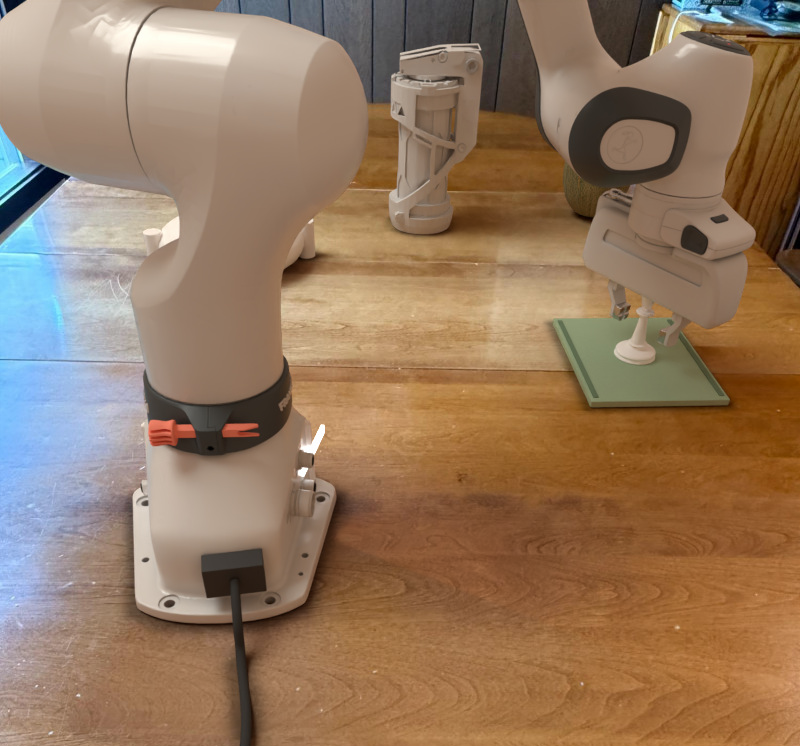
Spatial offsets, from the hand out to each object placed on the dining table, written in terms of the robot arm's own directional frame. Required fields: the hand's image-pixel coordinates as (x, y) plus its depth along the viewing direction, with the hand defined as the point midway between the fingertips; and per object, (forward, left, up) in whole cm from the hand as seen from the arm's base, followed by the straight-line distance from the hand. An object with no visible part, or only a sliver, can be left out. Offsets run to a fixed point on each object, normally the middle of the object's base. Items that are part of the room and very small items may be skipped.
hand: (641, 330), depth 92 cm
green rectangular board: (0, 0, -4) cm, 4 cm away
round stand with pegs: (+30, +51, -4) cm, 59 cm away
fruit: (+49, -7, -4) cm, 50 cm away
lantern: (+45, +21, -4) cm, 50 cm away
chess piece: (0, 0, -4) cm, 4 cm away
